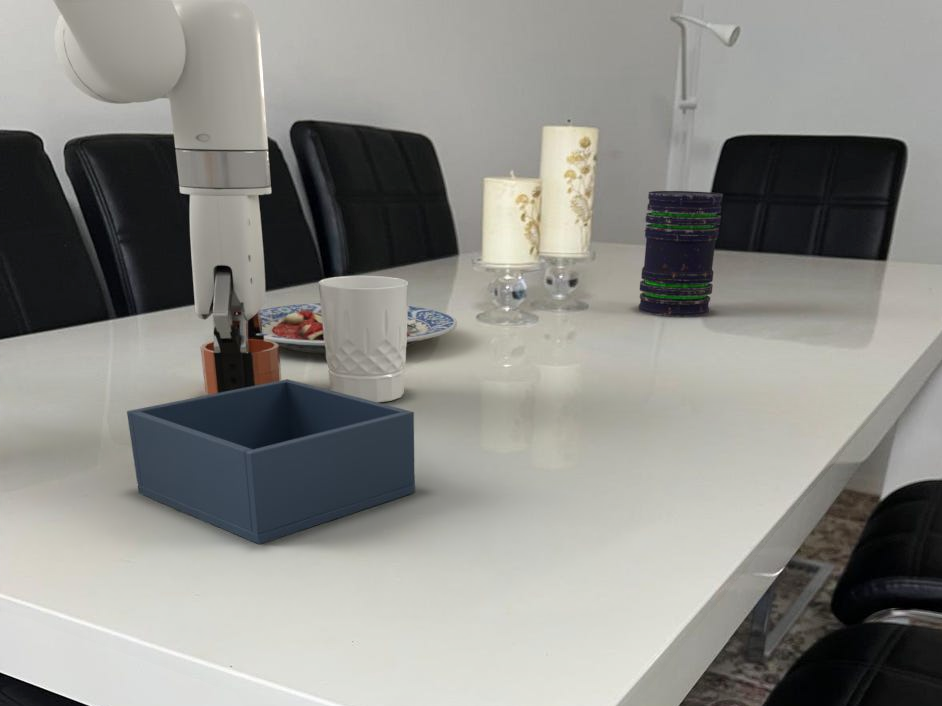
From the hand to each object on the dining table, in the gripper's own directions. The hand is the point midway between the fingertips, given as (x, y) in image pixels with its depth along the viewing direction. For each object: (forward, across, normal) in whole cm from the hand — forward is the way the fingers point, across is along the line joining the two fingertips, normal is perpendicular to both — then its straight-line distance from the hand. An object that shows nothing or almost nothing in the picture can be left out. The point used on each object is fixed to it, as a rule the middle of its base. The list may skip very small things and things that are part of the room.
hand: (243, 386), depth 91 cm
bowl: (+1, 0, 0) cm, 1 cm away
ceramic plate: (+1, -26, +8) cm, 27 cm away
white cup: (+1, 0, +11) cm, 11 cm away
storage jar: (+1, -49, +52) cm, 71 cm away
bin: (+1, +28, +6) cm, 28 cm away
